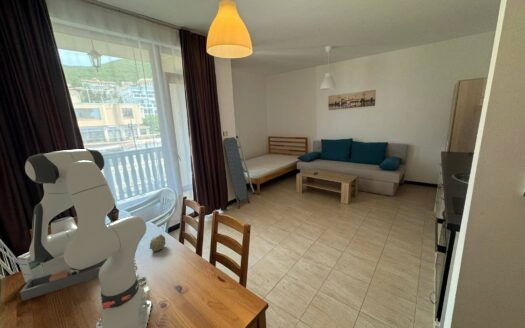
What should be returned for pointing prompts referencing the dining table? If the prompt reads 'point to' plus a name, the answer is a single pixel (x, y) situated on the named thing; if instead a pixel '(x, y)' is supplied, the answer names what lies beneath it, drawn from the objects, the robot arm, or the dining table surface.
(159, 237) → the beige rough lump
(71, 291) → the dining table surface
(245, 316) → the dining table surface
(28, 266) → the syrup box
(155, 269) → the dining table surface
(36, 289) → the charcoal chute
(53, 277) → the terracotta block
